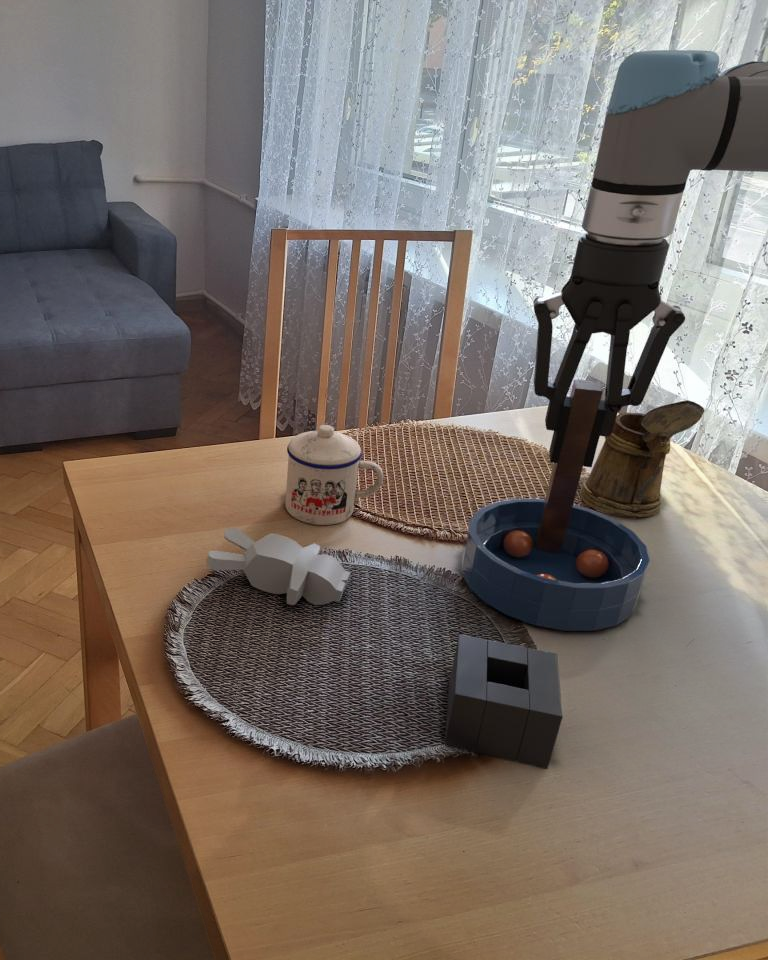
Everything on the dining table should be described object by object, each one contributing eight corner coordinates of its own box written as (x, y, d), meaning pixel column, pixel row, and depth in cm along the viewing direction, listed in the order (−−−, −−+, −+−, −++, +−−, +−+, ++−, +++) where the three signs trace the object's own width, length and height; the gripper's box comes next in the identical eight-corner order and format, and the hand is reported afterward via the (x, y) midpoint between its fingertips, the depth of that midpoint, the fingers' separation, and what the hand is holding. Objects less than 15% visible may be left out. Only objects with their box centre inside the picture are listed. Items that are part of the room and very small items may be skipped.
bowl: (624, 556, 99) (637, 511, 97) (645, 650, 85) (661, 602, 82) (463, 531, 105) (471, 488, 102) (457, 616, 91) (466, 569, 88)
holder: (543, 703, 79) (557, 653, 76) (547, 769, 73) (562, 716, 70) (449, 683, 82) (458, 634, 79) (444, 745, 75) (454, 693, 72)
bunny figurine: (338, 594, 88) (203, 548, 93) (328, 631, 91) (198, 584, 96) (359, 547, 96) (233, 507, 101) (349, 583, 98) (227, 542, 103)
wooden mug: (605, 537, 103) (644, 400, 94) (570, 482, 115) (602, 355, 106) (685, 541, 102) (732, 402, 93) (642, 485, 113) (680, 357, 105)
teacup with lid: (280, 523, 108) (285, 440, 102) (285, 488, 116) (291, 409, 110) (379, 533, 105) (390, 448, 100) (377, 496, 113) (388, 416, 108)
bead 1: (537, 546, 99) (527, 522, 99) (537, 558, 97) (527, 533, 96) (509, 554, 101) (498, 530, 100) (508, 565, 98) (498, 541, 98)
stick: (559, 542, 98) (600, 381, 88) (560, 554, 96) (602, 391, 86) (535, 538, 99) (574, 378, 88) (536, 550, 97) (575, 388, 86)
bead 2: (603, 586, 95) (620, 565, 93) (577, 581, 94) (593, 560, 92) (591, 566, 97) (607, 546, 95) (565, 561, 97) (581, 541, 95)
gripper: (535, 240, 79) (491, 464, 91) (730, 250, 74) (658, 486, 86) (532, 222, 86) (492, 434, 97) (713, 230, 80) (647, 453, 92)
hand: (570, 458), depth 91 cm, fingers closed on stick, 2 cm apart
